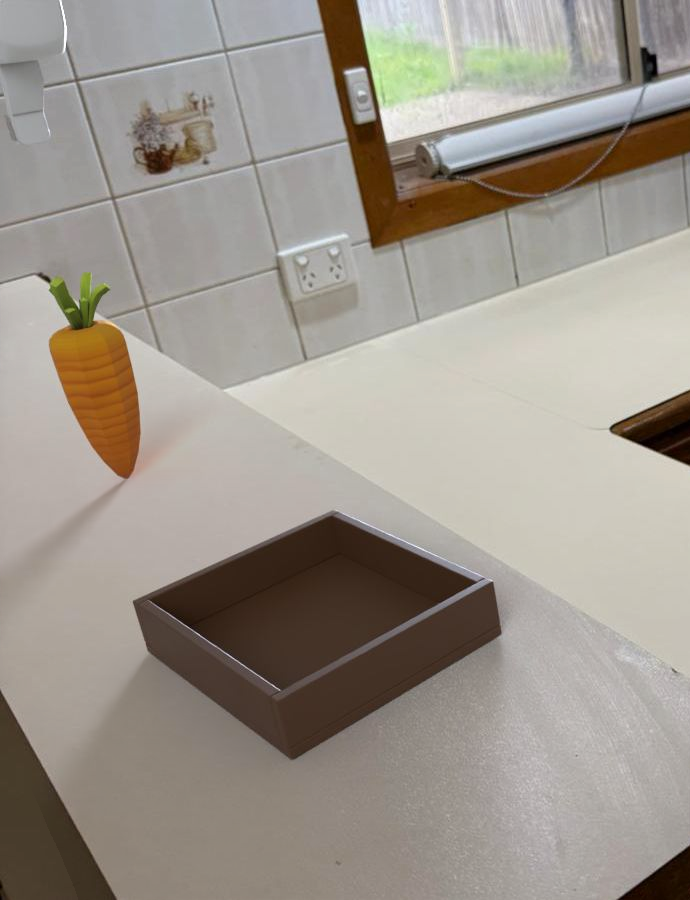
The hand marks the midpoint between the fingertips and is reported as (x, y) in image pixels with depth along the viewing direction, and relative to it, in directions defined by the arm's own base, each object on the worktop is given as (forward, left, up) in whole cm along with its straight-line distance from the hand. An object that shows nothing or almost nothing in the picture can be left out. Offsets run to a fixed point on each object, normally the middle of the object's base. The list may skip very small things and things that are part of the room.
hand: (5, 141), depth 71 cm
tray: (+31, -2, -24) cm, 39 cm away
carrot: (0, +1, -24) cm, 24 cm away
